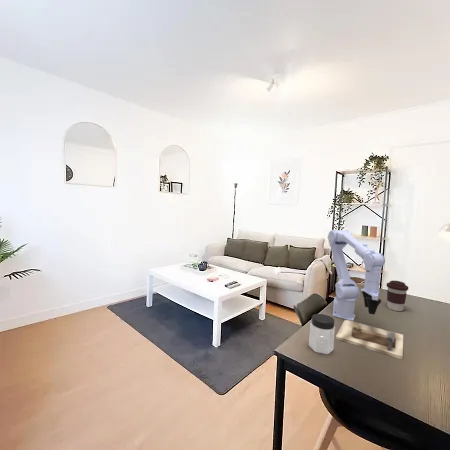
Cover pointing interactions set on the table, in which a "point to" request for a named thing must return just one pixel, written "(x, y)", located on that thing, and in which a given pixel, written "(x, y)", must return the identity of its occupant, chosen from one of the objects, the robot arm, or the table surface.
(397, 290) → the coffee cup
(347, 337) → the plate
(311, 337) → the jar
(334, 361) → the table surface
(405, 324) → the table surface
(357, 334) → the brown long round-headed piece
